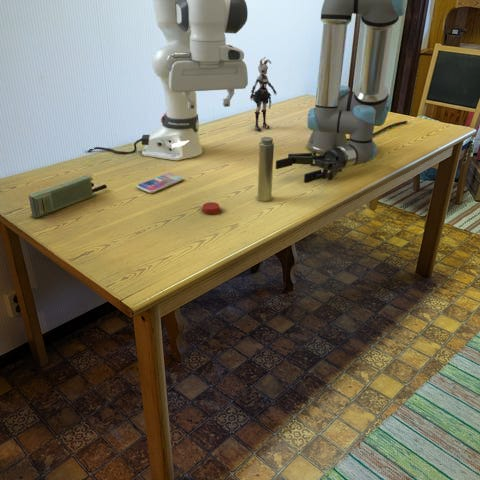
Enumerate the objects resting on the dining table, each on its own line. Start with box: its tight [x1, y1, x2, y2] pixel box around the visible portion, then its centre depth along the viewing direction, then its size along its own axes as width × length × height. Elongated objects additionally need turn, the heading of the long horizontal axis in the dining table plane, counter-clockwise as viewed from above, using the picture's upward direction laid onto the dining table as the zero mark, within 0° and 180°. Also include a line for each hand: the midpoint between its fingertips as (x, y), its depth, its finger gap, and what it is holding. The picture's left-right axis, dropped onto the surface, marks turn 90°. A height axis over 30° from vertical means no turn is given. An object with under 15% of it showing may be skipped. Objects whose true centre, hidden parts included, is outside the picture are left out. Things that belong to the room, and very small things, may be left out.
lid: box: [202, 201, 221, 215], centre depth 147 cm, size 5×5×2 cm
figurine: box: [249, 56, 278, 132], centre depth 211 cm, size 15×6×30 cm, turn 132°
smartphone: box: [136, 172, 184, 194], centre depth 164 cm, size 7×1×15 cm
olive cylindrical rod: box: [257, 136, 275, 202], centre depth 151 cm, size 4×4×19 cm
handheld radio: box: [28, 173, 108, 219], centre depth 150 cm, size 7×3×25 cm
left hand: (209, 107), depth 133 cm, fingers open, 8 cm apart
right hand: (290, 171), depth 158 cm, fingers open, 13 cm apart
